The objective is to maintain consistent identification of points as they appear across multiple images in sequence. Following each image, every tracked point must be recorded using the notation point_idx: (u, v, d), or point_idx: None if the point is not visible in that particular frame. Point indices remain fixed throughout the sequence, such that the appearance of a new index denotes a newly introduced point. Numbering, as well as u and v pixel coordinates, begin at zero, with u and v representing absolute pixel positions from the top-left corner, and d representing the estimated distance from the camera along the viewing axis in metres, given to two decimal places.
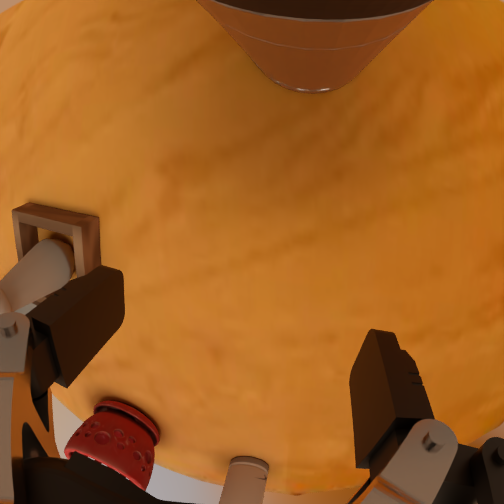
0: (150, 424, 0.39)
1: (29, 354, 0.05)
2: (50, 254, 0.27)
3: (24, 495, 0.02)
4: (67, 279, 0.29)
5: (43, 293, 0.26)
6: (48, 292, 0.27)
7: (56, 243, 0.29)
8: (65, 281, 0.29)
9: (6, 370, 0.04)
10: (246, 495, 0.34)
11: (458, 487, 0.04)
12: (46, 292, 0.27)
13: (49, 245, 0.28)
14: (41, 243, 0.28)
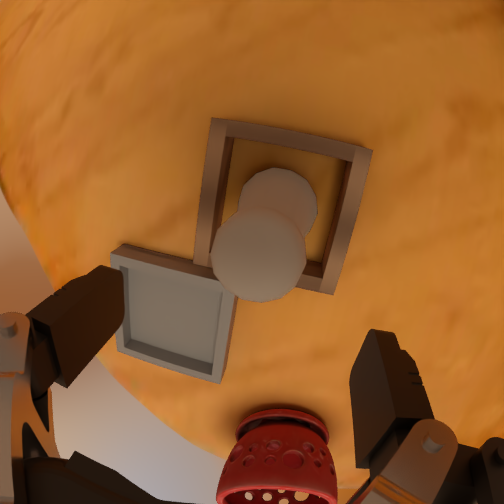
0: (326, 429, 0.32)
1: (29, 354, 0.05)
2: (304, 185, 0.21)
3: (24, 495, 0.02)
4: (310, 229, 0.23)
5: None
6: None
7: (299, 175, 0.22)
8: None
9: (6, 370, 0.04)
10: None
11: (458, 487, 0.04)
12: None
13: (293, 174, 0.21)
14: (277, 170, 0.21)
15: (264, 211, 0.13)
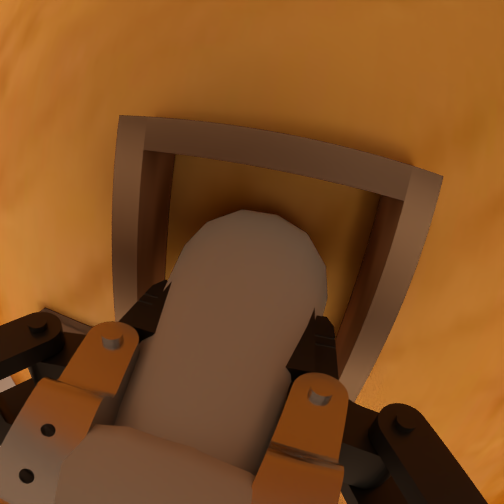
0: None
1: (128, 374, 0.06)
2: (303, 253, 0.10)
3: None
4: None
5: None
6: None
7: (292, 224, 0.11)
8: None
9: (95, 386, 0.05)
10: None
11: (353, 450, 0.05)
12: None
13: (281, 227, 0.10)
14: (247, 219, 0.10)
15: (131, 498, 0.02)
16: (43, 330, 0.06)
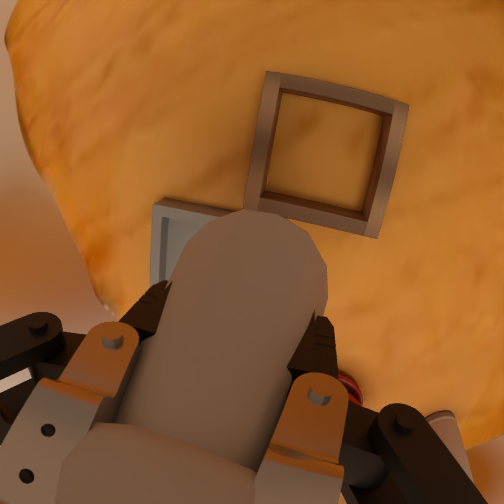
0: (360, 392, 0.33)
1: (128, 374, 0.06)
2: (305, 253, 0.10)
3: None
4: None
5: None
6: None
7: (293, 224, 0.11)
8: None
9: (95, 386, 0.05)
10: (459, 448, 0.27)
11: (353, 450, 0.05)
12: None
13: (282, 226, 0.10)
14: (248, 219, 0.10)
15: (133, 496, 0.02)
16: (43, 330, 0.06)
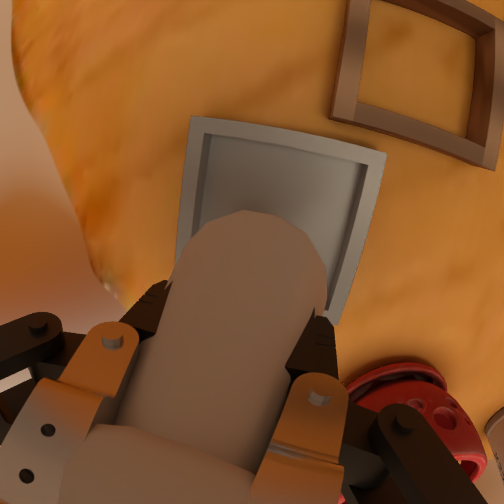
0: None
1: (129, 374, 0.06)
2: (304, 254, 0.10)
3: None
4: None
5: None
6: None
7: (293, 225, 0.11)
8: None
9: (96, 386, 0.05)
10: None
11: (353, 450, 0.05)
12: None
13: (282, 228, 0.10)
14: (247, 220, 0.10)
15: (132, 497, 0.02)
16: (43, 330, 0.06)
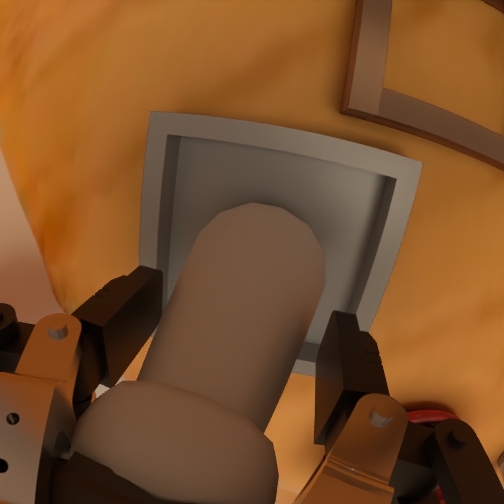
0: None
1: (76, 360, 0.06)
2: (304, 244, 0.11)
3: None
4: None
5: None
6: None
7: (296, 217, 0.12)
8: None
9: (48, 374, 0.05)
10: None
11: (411, 466, 0.05)
12: None
13: (286, 219, 0.12)
14: (255, 212, 0.12)
15: (158, 432, 0.04)
16: None
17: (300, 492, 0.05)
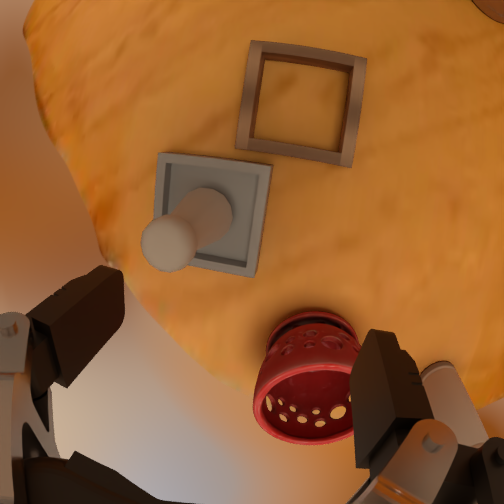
0: (355, 333, 0.36)
1: (29, 354, 0.05)
2: (218, 199, 0.30)
3: (24, 495, 0.02)
4: (227, 230, 0.32)
5: (210, 240, 0.29)
6: (212, 241, 0.30)
7: (218, 192, 0.31)
8: (225, 233, 0.32)
9: (6, 370, 0.04)
10: (463, 393, 0.30)
11: (458, 487, 0.04)
12: (212, 240, 0.29)
13: (212, 192, 0.30)
14: (201, 189, 0.30)
15: (168, 217, 0.22)
16: None
17: None
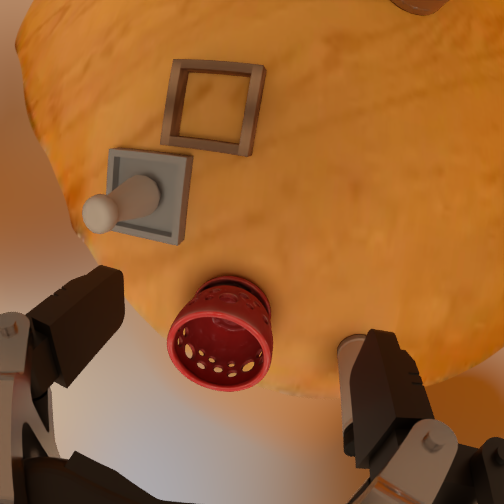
0: (266, 298, 0.44)
1: (29, 354, 0.05)
2: (146, 183, 0.37)
3: (24, 495, 0.02)
4: (155, 207, 0.40)
5: (137, 213, 0.37)
6: (140, 214, 0.37)
7: (149, 178, 0.39)
8: (153, 209, 0.40)
9: (6, 370, 0.04)
10: None
11: (458, 487, 0.04)
12: (139, 213, 0.37)
13: (143, 178, 0.38)
14: (136, 176, 0.38)
15: (98, 195, 0.30)
16: None
17: None
